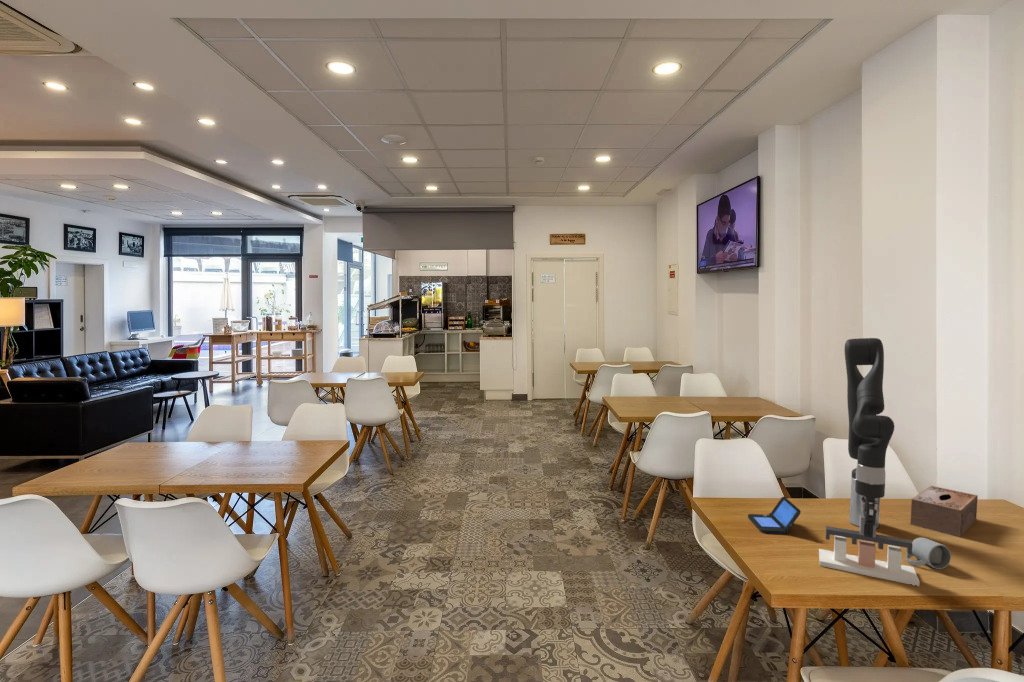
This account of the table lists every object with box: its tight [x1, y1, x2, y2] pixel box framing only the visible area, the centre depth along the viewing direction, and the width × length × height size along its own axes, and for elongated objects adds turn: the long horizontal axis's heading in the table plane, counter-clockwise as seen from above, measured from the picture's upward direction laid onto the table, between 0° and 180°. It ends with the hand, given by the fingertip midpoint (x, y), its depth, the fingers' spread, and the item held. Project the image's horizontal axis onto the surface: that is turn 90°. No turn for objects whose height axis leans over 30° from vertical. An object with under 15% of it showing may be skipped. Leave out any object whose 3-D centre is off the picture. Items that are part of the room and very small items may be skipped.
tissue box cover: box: [910, 485, 979, 538], centre depth 202 cm, size 26×14×10 cm, turn 129°
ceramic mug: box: [905, 537, 952, 570], centre depth 168 cm, size 11×8×8 cm
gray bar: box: [825, 514, 913, 555], centre depth 164 cm, size 3×22×9 cm, turn 61°
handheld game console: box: [747, 496, 801, 535], centre depth 197 cm, size 16×13×9 cm
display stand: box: [818, 535, 920, 587], centre depth 164 cm, size 10×25×8 cm, turn 61°
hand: (867, 534), depth 164 cm, fingers closed on gray bar, 3 cm apart
